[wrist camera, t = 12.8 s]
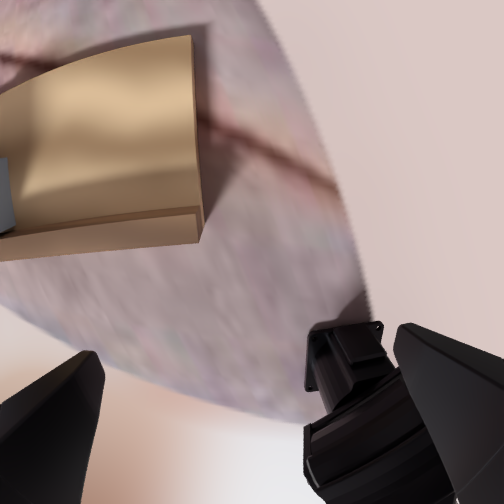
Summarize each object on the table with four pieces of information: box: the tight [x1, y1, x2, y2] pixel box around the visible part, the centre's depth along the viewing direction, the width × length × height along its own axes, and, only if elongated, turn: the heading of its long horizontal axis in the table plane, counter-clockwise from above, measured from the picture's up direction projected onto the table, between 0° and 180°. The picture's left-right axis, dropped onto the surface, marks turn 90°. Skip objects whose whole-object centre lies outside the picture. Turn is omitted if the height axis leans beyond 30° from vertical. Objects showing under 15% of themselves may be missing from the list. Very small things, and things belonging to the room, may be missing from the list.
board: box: [0, 35, 205, 262], centre depth 14 cm, size 12×20×4 cm, turn 93°
